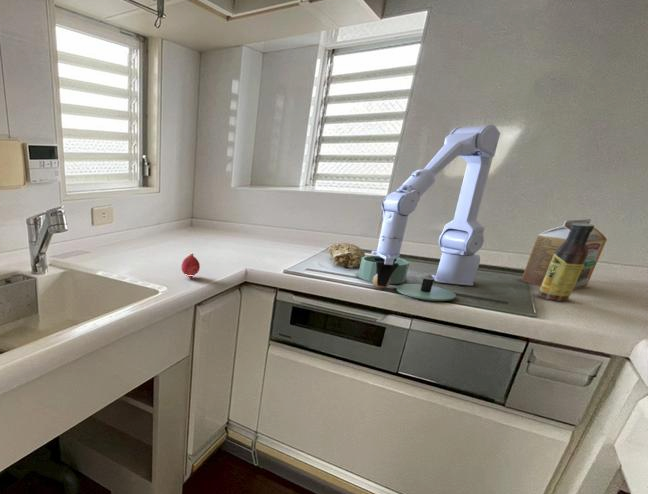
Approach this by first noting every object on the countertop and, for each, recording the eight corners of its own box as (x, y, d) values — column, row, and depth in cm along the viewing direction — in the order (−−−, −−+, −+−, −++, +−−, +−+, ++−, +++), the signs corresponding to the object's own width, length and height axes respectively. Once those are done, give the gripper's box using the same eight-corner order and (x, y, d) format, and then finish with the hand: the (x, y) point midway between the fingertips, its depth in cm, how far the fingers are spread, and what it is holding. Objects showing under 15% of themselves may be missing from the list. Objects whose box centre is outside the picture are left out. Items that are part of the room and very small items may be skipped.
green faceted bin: (401, 275, 131) (406, 257, 129) (406, 286, 120) (411, 266, 118) (357, 271, 136) (361, 254, 134) (358, 281, 125) (362, 262, 123)
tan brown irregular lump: (362, 273, 138) (368, 251, 152) (361, 252, 135) (368, 231, 149) (321, 275, 146) (331, 253, 160) (320, 254, 142) (329, 234, 156)
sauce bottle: (536, 293, 113) (564, 221, 106) (567, 297, 110) (598, 223, 102) (537, 299, 109) (566, 224, 101) (569, 304, 105) (602, 226, 97)
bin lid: (448, 290, 116) (453, 275, 114) (460, 305, 104) (465, 288, 102) (393, 285, 121) (397, 270, 119) (398, 298, 109) (402, 282, 108)
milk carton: (561, 290, 116) (589, 223, 108) (521, 280, 125) (543, 218, 118) (586, 287, 118) (614, 221, 111) (544, 277, 128) (568, 216, 120)
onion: (184, 280, 126) (185, 255, 123) (178, 276, 132) (179, 252, 129) (201, 279, 128) (203, 254, 125) (195, 274, 133) (196, 250, 130)
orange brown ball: (388, 287, 120) (391, 271, 118) (389, 291, 116) (393, 275, 114) (370, 285, 121) (373, 270, 120) (371, 289, 118) (374, 274, 116)
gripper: (374, 232, 120) (364, 275, 126) (377, 240, 108) (366, 288, 113) (401, 233, 118) (390, 278, 123) (407, 242, 106) (395, 291, 111)
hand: (380, 283), depth 118 cm, fingers closed on orange brown ball, 4 cm apart
